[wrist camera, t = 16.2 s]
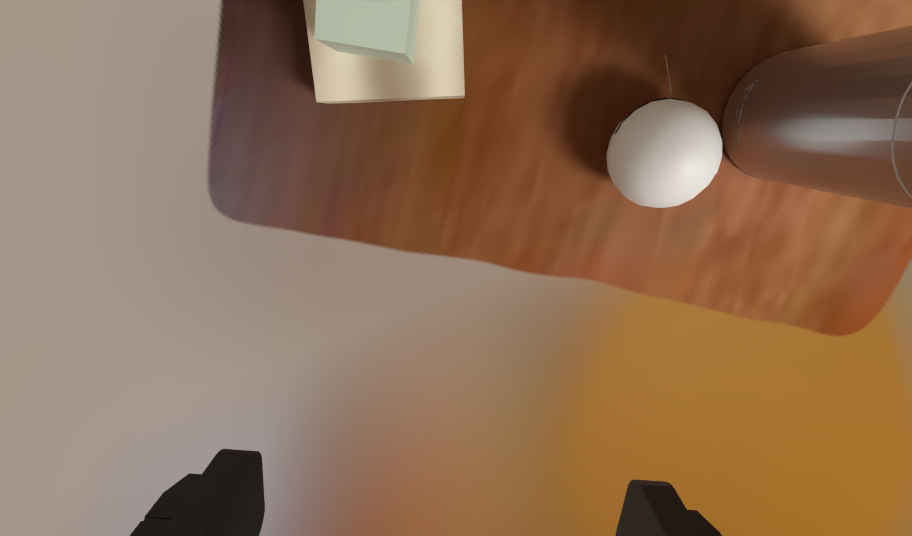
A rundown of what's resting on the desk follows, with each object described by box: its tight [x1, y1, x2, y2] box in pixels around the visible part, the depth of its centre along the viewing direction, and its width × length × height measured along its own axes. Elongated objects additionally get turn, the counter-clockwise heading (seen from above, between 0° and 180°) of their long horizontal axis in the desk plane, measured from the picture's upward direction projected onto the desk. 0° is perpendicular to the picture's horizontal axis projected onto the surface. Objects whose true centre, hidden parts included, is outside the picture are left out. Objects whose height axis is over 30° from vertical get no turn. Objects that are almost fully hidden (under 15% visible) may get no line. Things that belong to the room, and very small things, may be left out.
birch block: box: [303, 0, 465, 104], centre depth 31 cm, size 10×10×4 cm
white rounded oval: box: [606, 55, 722, 208], centre depth 31 cm, size 10×7×7 cm
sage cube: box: [314, 0, 421, 64], centre depth 26 cm, size 5×5×5 cm
